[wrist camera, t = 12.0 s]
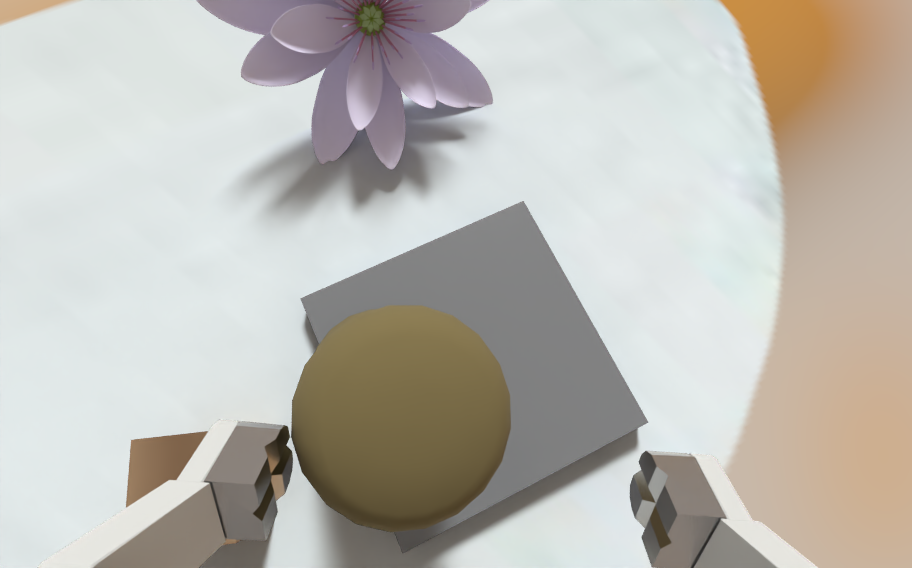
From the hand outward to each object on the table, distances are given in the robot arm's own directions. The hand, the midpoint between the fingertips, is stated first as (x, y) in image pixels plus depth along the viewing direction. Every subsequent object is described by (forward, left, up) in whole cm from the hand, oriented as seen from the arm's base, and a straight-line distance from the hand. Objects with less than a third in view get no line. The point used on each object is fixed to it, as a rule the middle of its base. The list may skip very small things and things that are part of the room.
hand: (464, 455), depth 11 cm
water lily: (+4, +18, -12) cm, 22 cm away
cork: (-2, +4, -9) cm, 10 cm away
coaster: (+2, +3, -11) cm, 12 cm away
